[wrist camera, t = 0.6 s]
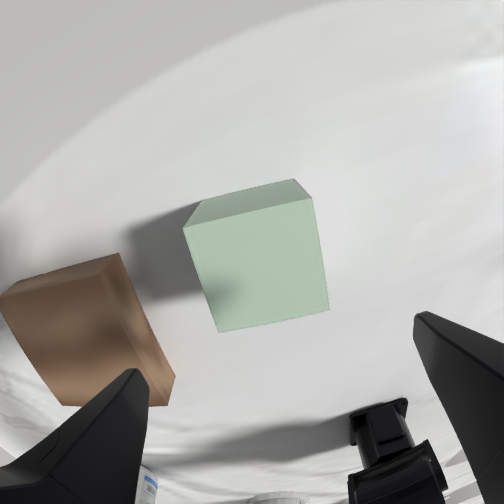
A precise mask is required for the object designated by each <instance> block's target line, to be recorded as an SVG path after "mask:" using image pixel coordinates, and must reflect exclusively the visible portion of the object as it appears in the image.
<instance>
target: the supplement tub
mask: <svg viewBox="0 0 504 504" xmlns="http://www.w3.org/2000/svg"><path fill="white" fill-rule="evenodd" d="M157 486H158V479H157V477H156V476H155V475H154V474H153V473H152V472H151V471H150V470H148V469H147V468H145V467H143V466H140V472H139V479H138V485H137V492H136V499H135V504H155V498H156V493H157Z"/></svg>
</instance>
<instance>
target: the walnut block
mask: <svg viewBox="0 0 504 504" xmlns="http://www.w3.org/2000/svg"><path fill="white" fill-rule="evenodd" d="M0 311H1V313H2V315H3V317H4V319H5V320H6V322H7V324H8V326H9V328H10V329H11V331H12V333H13V335H14V336H15V338H16V340H17V341H18V343H19V345H20V346H21V348H22V350H23V351H24V353H25V354H26V356H27V357H28V359H29V361H30V362H31V364H32V365H33V367H34V368H35V370H36V371H37V372H38V374H39V375H40V377H41V378H42V380H43V381H44V382H45V384H46V385H47V386H48V388H49V389H50V391H51V392H52V393H53V394H54V396H55V397H56V398H57V400H58V401H59V402H60V404H61V405H63V406H81V407H83V406H84V405H85V404H86V403H87V402H89V401H90V400H91V399H92V398H93V397H94V396H96V395H97V394H98V393H99V392H100V391H101V390H103V389H104V388H105V387H106V386H107V385H108V384H110V383H111V382H112V381H113V380H114V379H115V378H117V377H118V376H119V375H120V374H121V373H122V372H124V371H125V370H126V369H129V368H138V369H139V370H140V371H141V373H142V374H143V376H144V378H145V380H146V381H147V383H148V385H149V388H150V396H149V407H153V406H168V402H169V398H170V394H171V391H172V387H173V383H174V379H175V374H174V372H173V370H172V369H171V367H170V365H169V363H168V361H167V359H166V357H165V355H164V353H163V351H162V349H161V347H160V345H159V343H158V341H157V339H156V337H155V335H154V333H153V331H152V329H151V327H150V325H149V322H148V320H147V318H146V316H145V314H144V312H143V309H142V307H141V305H140V303H139V300H138V298H137V296H136V294H135V291H134V289H133V287H132V284H131V282H130V280H129V277H128V275H127V272H126V270H125V267H124V265H123V262H122V260H121V257H120V255H119V253H116V254H112V255H108V256H105V257H101V258H97V259H94V260H90V261H87V262H83V263H79V264H76V265H72V266H69V267H65V268H62V269H58V270H55V271H51V272H48V273H45V274H41V275H38V276H34V277H31V278H28V279H24V280H21V281H18V282H16V283H15V284H14V285H13V286H12V287H10V288H9V289H8V290H7V291H6V292H5V293H3V294H2V295H1V296H0Z"/></svg>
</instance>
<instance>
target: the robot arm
mask: <svg viewBox="0 0 504 504" xmlns="http://www.w3.org/2000/svg"><path fill="white" fill-rule="evenodd" d="M413 340H414V343H415V345H416V348H417V350H418V352H419V355H420V357H421V360H422V362H423V365H424V367H425V370H426V373H427V375H428V377H429V380H430V382H431V384H432V386H433V388H434V389H435V391H436V393H437V395H438V397H439V399H440V401H441V403H442V405H443V407H444V409H445V411H446V413H447V415H448V417H449V419H450V422H451V424H452V426H453V428H454V430H455V432H456V434H457V436H458V439H459V441H460V443H461V445H462V448H463V450H464V452H465V454H466V456H467V459H468V461H469V464H470V466H471V468H472V471H473V473H474V476H475V478H476V480H477V484H478V486H479V489H480V492H481V494H482V497H483V500H484V502H485V504H504V343H501V342H499V341H497V340H494V339H492V338H490V337H487V336H485V335H483V334H480V333H478V332H476V331H473V330H471V329H469V328H466V327H464V326H461V325H459V324H457V323H454V322H452V321H450V320H447V319H445V318H442V317H440V316H438V315H435V314H433V313H431V312H428V311H424V312H421V313H418V314H416V315H415V317H414V327H413ZM149 396H150V388H149V385H148V383H147V381H146V380H145V378H144V376H143V374H142V373H141V371H140V370H139V369H138V368H129V369H126V370H125V371H124V372H122V373H121V374H120V375H119V376H118V377H117V378H115V379H114V380H113V381H112V382H111V383H110V384H108V385H107V386H106V387H105V388H104V389H103V390H101V391H100V392H99V393H98V394H97V395H96V396H94V397H93V398H92V399H91V400H90V401H89V402H87V403H86V404H85V405H84V406H83V407H82V408H80V409H79V410H78V411H77V412H76V413H75V414H73V415H72V416H71V417H70V418H69V419H67V420H66V421H65V422H64V423H63V424H62V425H60V427H58V428H57V429H56V430H54V431H53V432H52V433H51V434H50V435H48V436H47V437H46V438H45V439H44V440H42V441H41V442H40V443H38V444H37V445H35V446H34V447H33V448H31V449H30V450H29V451H27V452H26V453H24V454H23V455H21V456H20V457H19V458H17V459H16V460H14V461H13V462H11V463H10V464H8V465H5V466H2V467H0V504H135V499H136V492H137V485H138V479H139V472H140V466H141V460H142V454H143V448H144V442H145V437H146V431H147V422H148V408H149ZM407 406H408V400H407V399H406V398H403V399H400V400H397V401H394V402H391V403H388V404H385V405H382V406H378V407H375V408H372V409H368V410H365V411H361V412H358V413H354V414H352V415H350V417H349V419H350V444H351V446H356V445H357V446H358V449H359V453H360V456H361V460H362V464H363V468H364V470H362V471H360V472H357V473H354V474H353V473H352V474H350V475H348V482H347V484H348V495H349V504H445V500H444V497H443V494H442V492H443V491H445V490H447V489H448V485H447V482H446V479H445V476H444V474H443V471H442V469H441V466H440V464H439V462H438V460H437V458H436V455H435V453H434V451H433V449H432V447H431V445H430V443H429V441H428V439H427V440H425V441H423V443H421V444H419V445H417V446H415V443H414V441H413V439H412V436H411V434H410V431H409V429H408V427H407V424H406V422H405V416H406V411H407Z"/></svg>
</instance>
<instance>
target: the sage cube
mask: <svg viewBox="0 0 504 504" xmlns="http://www.w3.org/2000/svg"><path fill="white" fill-rule="evenodd" d="M183 231H184V235H185V238H186V241H187V244H188V247H189V250H190V253H191V256H192V259H193V262H194V265H195V268H196V271H197V274H198V277H199V280H200V283H201V286H202V288H203V291H204V294H205V297H206V300H207V303H208V305H209V308H210V311H211V314H212V316H213V319H214V322H215V325H216V327H217V330H218V333H223V332H228V331H234V330H239V329H245V328H250V327H255V326H260V325H265V324H270V323H275V322H280V321H284V320H289V319H293V318H298V317H303V316H307V315H311V314H316V313H320V312H324V311H328V310H330V306H329V299H328V292H327V285H326V278H325V271H324V265H323V258H322V252H321V246H320V240H319V234H318V228H317V223H316V217H315V212H314V206H313V201H312V197H311V196H310V195H309V194H308V193H307V192H306V191H305V190H304V189H303V187H302V186H301V185H300V184H299V183H298V182H297V181H296V180H295V179H290V180H285V181H280V182H276V183H271V184H267V185H263V186H258V187H254V188H250V189H246V190H241V191H237V192H233V193H229V194H225V195H221V196H217V197H213V198H209V199H205V200H202V201H201V202H200V204H199V205H198V207H197V208H196V209H195V211H194V212H193V214H192V215H191V217H190V218H189V219H188V221H187V222H186V224H185V225H184V227H183Z"/></svg>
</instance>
